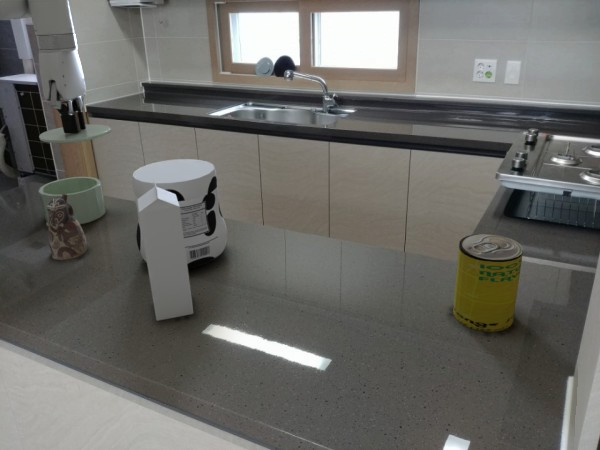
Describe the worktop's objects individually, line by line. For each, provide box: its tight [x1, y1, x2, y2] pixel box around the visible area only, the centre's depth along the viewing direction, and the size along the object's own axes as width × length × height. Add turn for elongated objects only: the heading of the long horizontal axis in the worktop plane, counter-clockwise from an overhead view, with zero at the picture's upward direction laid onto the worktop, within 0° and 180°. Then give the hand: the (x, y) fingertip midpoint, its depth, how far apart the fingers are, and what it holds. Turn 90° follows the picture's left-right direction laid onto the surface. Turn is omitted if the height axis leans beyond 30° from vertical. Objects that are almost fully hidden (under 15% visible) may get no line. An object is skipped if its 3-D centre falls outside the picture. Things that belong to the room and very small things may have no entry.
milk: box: [137, 178, 194, 322], centre depth 85 cm, size 6×6×22 cm
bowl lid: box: [38, 110, 112, 144], centre depth 118 cm, size 15×15×6 cm
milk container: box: [131, 158, 228, 270], centre depth 103 cm, size 17×17×18 cm
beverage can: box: [452, 233, 524, 333], centre depth 82 cm, size 9×9×12 cm
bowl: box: [38, 176, 106, 225], centre depth 129 cm, size 14×14×8 cm
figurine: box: [45, 194, 88, 261], centre depth 108 cm, size 7×7×12 cm
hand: (75, 130), depth 118 cm, fingers closed on bowl lid, 2 cm apart
